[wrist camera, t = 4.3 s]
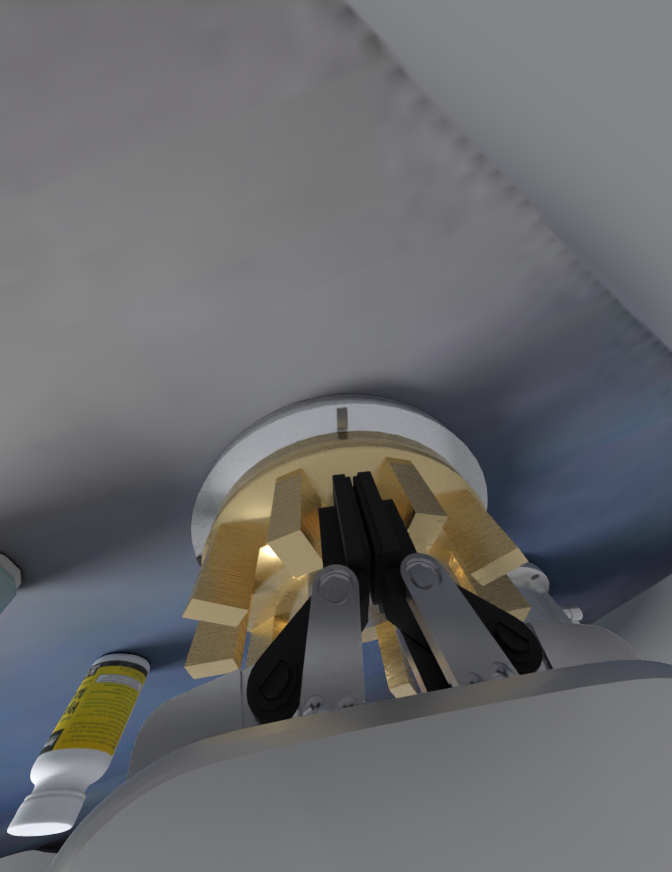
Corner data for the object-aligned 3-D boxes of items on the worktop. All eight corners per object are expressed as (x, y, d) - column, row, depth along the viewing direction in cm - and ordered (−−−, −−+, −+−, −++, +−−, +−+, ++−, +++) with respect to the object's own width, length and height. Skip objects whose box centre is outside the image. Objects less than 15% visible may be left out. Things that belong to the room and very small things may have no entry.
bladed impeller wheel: (451, 596, 24) (496, 685, 19) (249, 630, 23) (232, 735, 18) (493, 412, 16) (601, 476, 10) (169, 452, 14) (82, 549, 9)
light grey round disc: (517, 408, 18) (543, 420, 16) (428, 596, 28) (437, 618, 26) (181, 377, 15) (162, 389, 13) (214, 605, 25) (206, 631, 23)
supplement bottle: (98, 648, 26) (-7, 823, 17) (157, 654, 27) (89, 817, 19) (90, 673, 28) (-7, 842, 19) (145, 678, 29) (79, 835, 21)
